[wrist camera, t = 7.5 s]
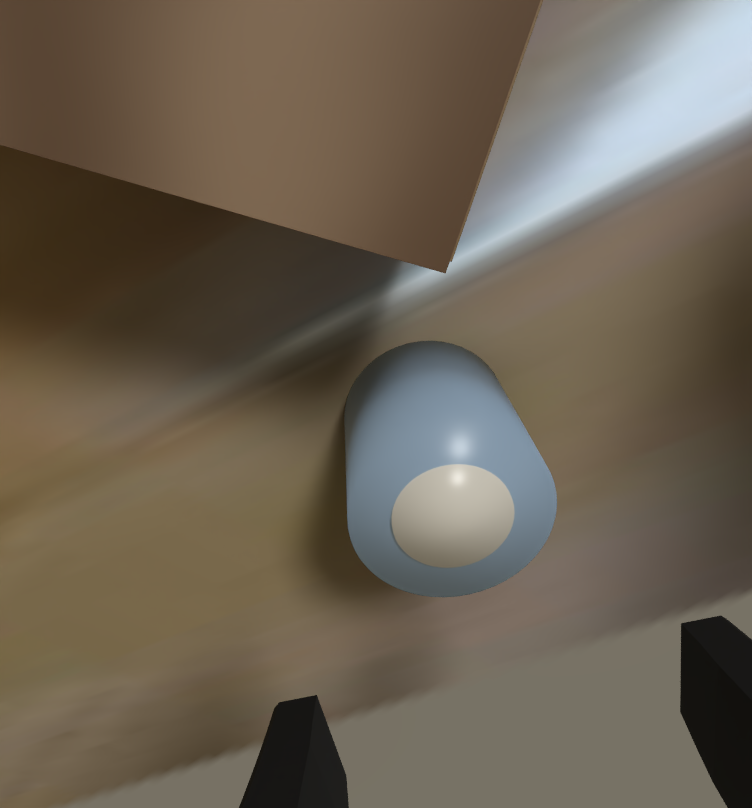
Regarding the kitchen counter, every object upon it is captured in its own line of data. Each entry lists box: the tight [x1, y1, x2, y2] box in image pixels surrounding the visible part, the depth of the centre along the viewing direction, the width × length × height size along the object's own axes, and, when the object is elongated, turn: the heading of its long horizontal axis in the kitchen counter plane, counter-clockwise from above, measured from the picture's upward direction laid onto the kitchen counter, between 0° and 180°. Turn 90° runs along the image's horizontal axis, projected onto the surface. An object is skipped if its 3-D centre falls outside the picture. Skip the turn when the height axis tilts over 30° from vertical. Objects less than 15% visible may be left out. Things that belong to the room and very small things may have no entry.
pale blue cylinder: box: [344, 341, 557, 597], centre depth 17 cm, size 5×5×5 cm
